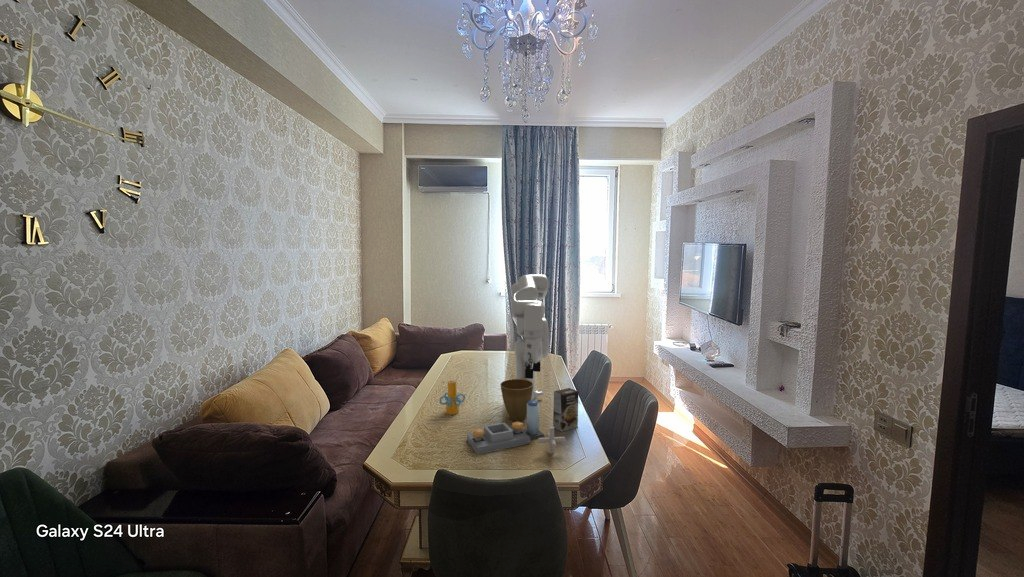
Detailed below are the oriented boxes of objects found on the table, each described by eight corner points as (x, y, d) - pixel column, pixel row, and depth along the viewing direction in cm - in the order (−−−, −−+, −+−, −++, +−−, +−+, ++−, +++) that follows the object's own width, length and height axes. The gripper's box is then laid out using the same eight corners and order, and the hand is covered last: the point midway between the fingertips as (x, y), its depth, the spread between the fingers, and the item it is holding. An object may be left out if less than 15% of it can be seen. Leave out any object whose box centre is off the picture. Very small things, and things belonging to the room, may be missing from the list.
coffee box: (561, 432, 184) (562, 395, 183) (552, 426, 190) (553, 390, 188) (578, 427, 189) (579, 391, 187) (569, 422, 195) (569, 387, 193)
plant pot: (529, 410, 208) (529, 377, 207) (536, 423, 194) (536, 388, 192) (498, 412, 206) (498, 379, 204) (503, 425, 191) (503, 390, 189)
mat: (536, 430, 186) (536, 427, 186) (544, 436, 180) (544, 434, 180) (521, 432, 184) (521, 430, 183) (528, 439, 177) (528, 437, 177)
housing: (516, 430, 186) (516, 418, 185) (529, 443, 174) (530, 430, 174) (467, 440, 177) (466, 427, 176) (477, 454, 165) (477, 440, 165)
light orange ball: (519, 431, 182) (520, 421, 181) (524, 435, 178) (524, 425, 177) (510, 433, 180) (510, 422, 179) (514, 437, 176) (514, 427, 175)
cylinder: (459, 418, 199) (458, 386, 197) (437, 416, 201) (436, 384, 199) (467, 408, 211) (466, 378, 209) (446, 406, 213) (446, 376, 211)
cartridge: (540, 430, 183) (540, 400, 182) (536, 435, 179) (536, 404, 177) (529, 429, 185) (529, 399, 184) (525, 433, 180) (525, 403, 179)
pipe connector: (536, 447, 171) (536, 422, 170) (561, 446, 172) (562, 421, 171) (540, 459, 161) (540, 433, 160) (567, 458, 162) (567, 432, 161)
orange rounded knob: (481, 438, 175) (481, 428, 174) (485, 443, 171) (485, 432, 170) (471, 440, 173) (470, 430, 173) (474, 445, 169) (474, 434, 169)
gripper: (535, 339, 168) (535, 382, 170) (548, 330, 184) (547, 369, 186) (517, 337, 171) (517, 379, 173) (531, 328, 187) (530, 367, 189)
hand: (532, 374), depth 179 cm, fingers open, 9 cm apart
